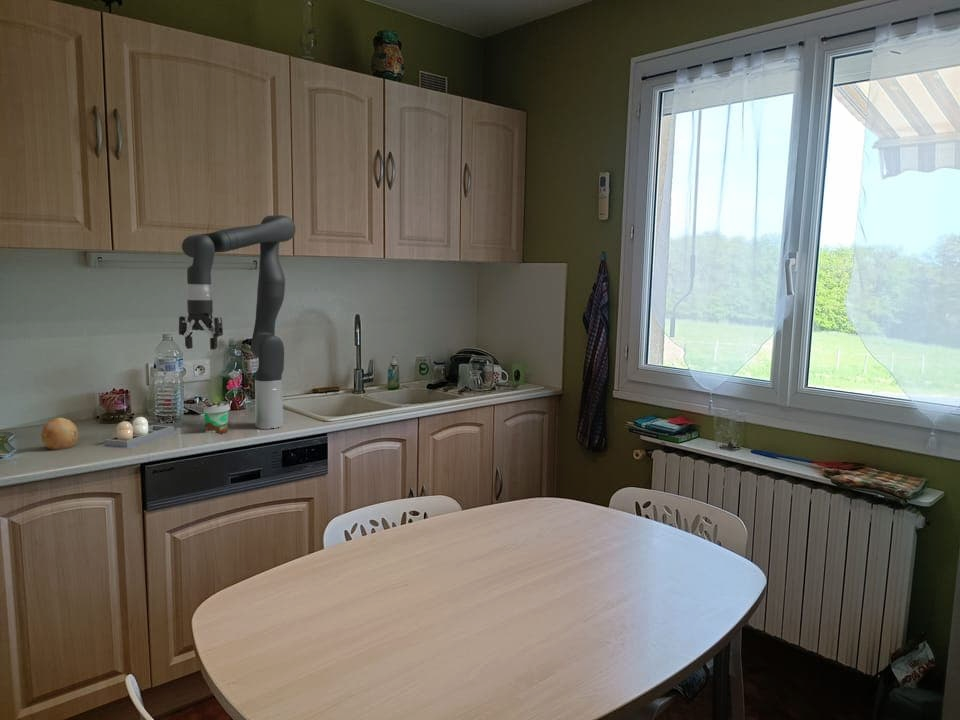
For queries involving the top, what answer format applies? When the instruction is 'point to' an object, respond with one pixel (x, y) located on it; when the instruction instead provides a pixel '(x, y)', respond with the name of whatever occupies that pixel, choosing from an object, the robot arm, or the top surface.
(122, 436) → the brown egg
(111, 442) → the carton
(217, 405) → the food container
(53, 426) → the onion
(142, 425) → the white domed cylinder
